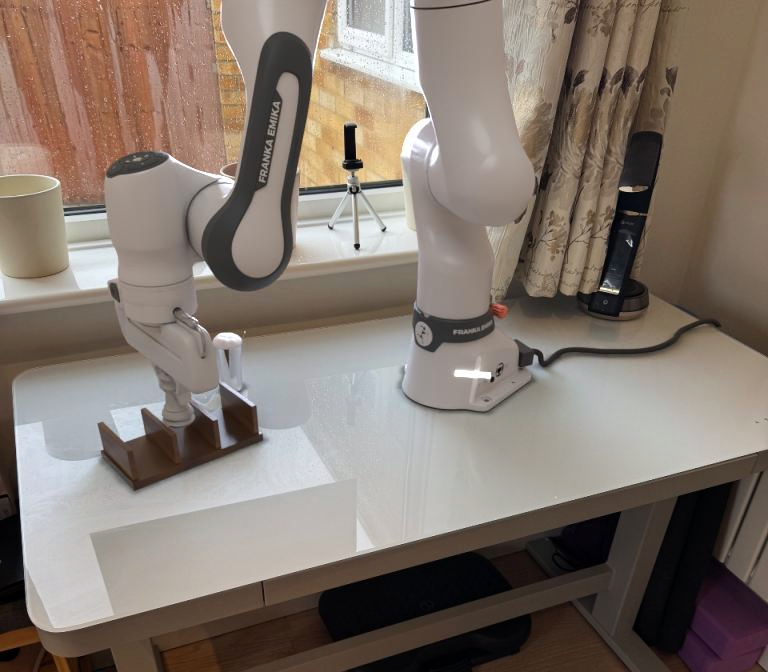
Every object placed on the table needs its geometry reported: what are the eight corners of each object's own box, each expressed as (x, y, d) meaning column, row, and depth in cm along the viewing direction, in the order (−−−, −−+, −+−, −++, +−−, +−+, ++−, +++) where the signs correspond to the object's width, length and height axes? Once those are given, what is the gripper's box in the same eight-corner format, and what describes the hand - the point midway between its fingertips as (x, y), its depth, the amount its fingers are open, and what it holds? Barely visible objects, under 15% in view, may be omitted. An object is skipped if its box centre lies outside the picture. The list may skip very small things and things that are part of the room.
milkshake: (245, 397, 118) (239, 338, 112) (213, 393, 119) (206, 334, 113) (255, 383, 122) (250, 326, 116) (224, 380, 123) (217, 322, 117)
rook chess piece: (191, 430, 101) (183, 377, 97) (159, 429, 101) (149, 375, 97) (198, 413, 105) (191, 361, 100) (167, 412, 105) (158, 360, 100)
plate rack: (227, 412, 114) (223, 379, 111) (263, 440, 108) (260, 406, 105) (101, 457, 104) (93, 422, 100) (134, 490, 98) (126, 454, 94)
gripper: (225, 318, 88) (236, 419, 96) (145, 268, 100) (161, 362, 109) (177, 331, 85) (193, 435, 93) (100, 278, 97) (120, 375, 105)
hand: (175, 396), depth 101 cm, fingers closed on rook chess piece, 3 cm apart
